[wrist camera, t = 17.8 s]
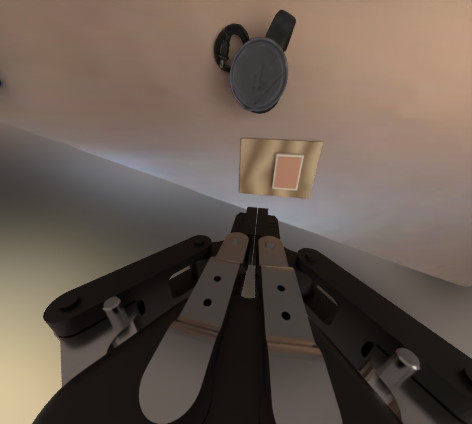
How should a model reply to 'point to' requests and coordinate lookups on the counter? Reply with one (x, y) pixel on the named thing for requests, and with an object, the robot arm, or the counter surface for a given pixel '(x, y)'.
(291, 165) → the card box
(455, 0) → the counter surface
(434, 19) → the counter surface
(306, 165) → the mat
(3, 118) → the counter surface
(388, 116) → the counter surface
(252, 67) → the milk frother
